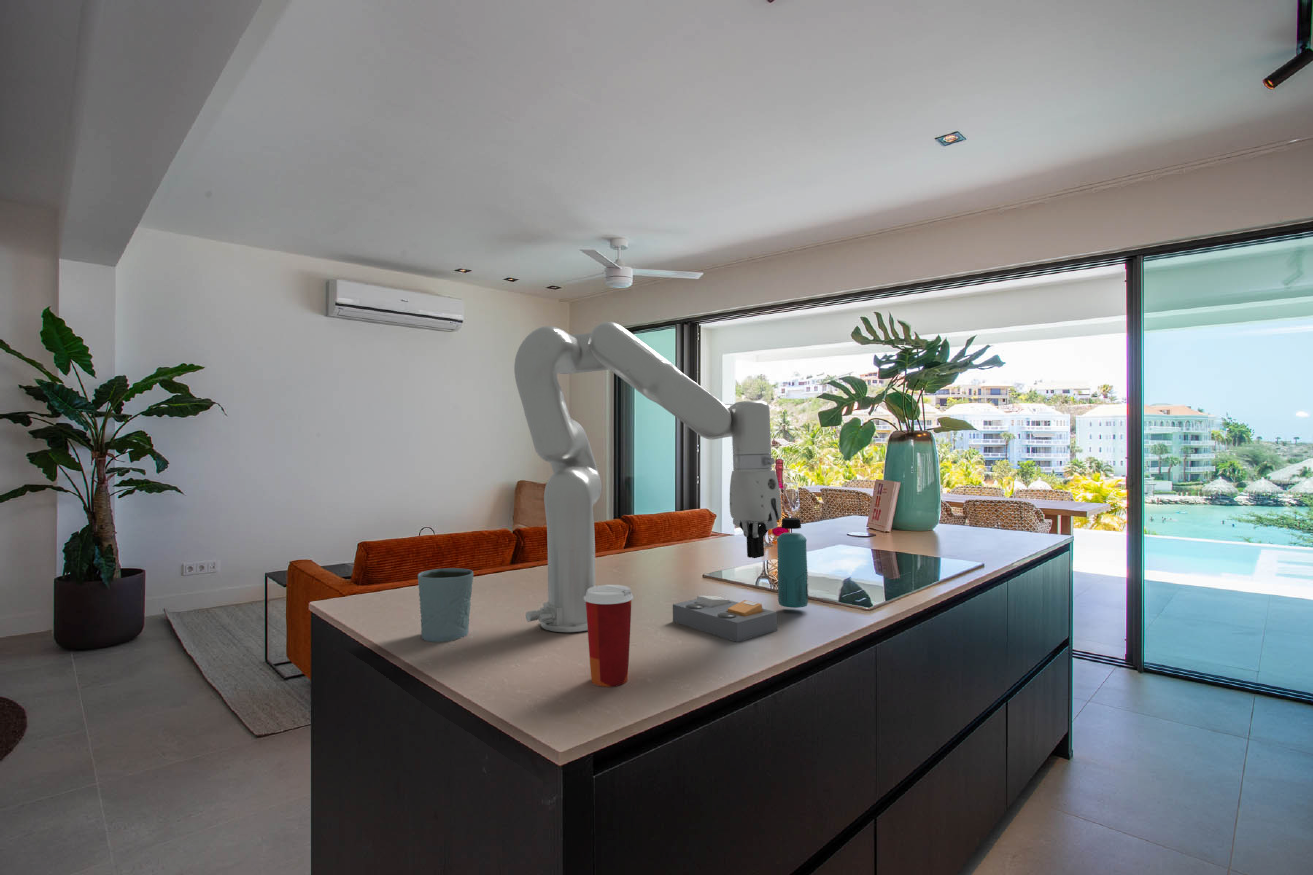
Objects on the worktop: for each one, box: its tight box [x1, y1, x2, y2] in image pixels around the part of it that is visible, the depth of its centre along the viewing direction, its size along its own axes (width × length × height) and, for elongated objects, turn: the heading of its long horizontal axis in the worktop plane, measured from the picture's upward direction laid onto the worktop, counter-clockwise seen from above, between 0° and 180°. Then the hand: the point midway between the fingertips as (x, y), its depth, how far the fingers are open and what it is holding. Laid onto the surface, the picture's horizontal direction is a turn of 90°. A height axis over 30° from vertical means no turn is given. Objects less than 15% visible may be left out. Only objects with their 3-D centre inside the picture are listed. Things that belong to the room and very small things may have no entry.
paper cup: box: [584, 584, 634, 688], centre depth 100 cm, size 8×8×14 cm
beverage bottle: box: [776, 517, 809, 609], centre depth 139 cm, size 6×7×20 cm
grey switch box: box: [672, 598, 778, 643], centre depth 128 cm, size 11×18×4 cm, turn 39°
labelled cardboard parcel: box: [728, 599, 763, 617], centre depth 126 cm, size 5×4×2 cm
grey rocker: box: [696, 595, 730, 608], centre depth 133 cm, size 5×4×2 cm
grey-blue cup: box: [417, 567, 475, 643], centre depth 124 cm, size 10×10×12 cm
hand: (755, 556), depth 127 cm, fingers closed
